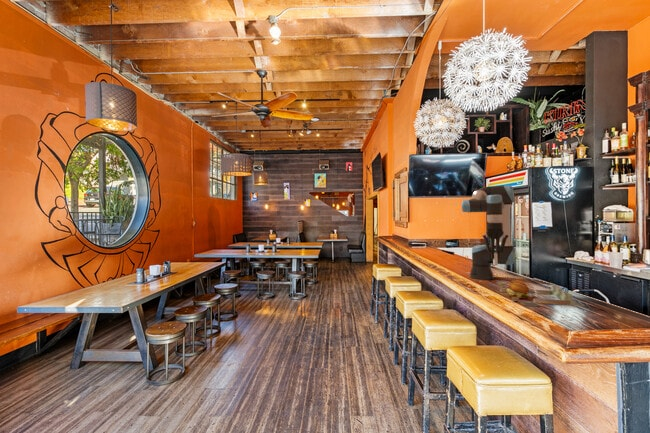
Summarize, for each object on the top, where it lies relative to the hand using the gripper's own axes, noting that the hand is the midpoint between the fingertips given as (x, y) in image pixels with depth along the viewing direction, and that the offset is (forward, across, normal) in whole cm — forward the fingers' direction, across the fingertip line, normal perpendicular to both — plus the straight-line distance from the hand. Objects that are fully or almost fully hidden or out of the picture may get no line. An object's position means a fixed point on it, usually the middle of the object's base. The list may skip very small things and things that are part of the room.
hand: (495, 264), depth 168 cm
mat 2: (+18, +12, -14) cm, 25 cm away
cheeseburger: (+18, +11, 0) cm, 21 cm away
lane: (+18, +18, 0) cm, 25 cm away
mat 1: (+17, +20, +14) cm, 30 cm away
